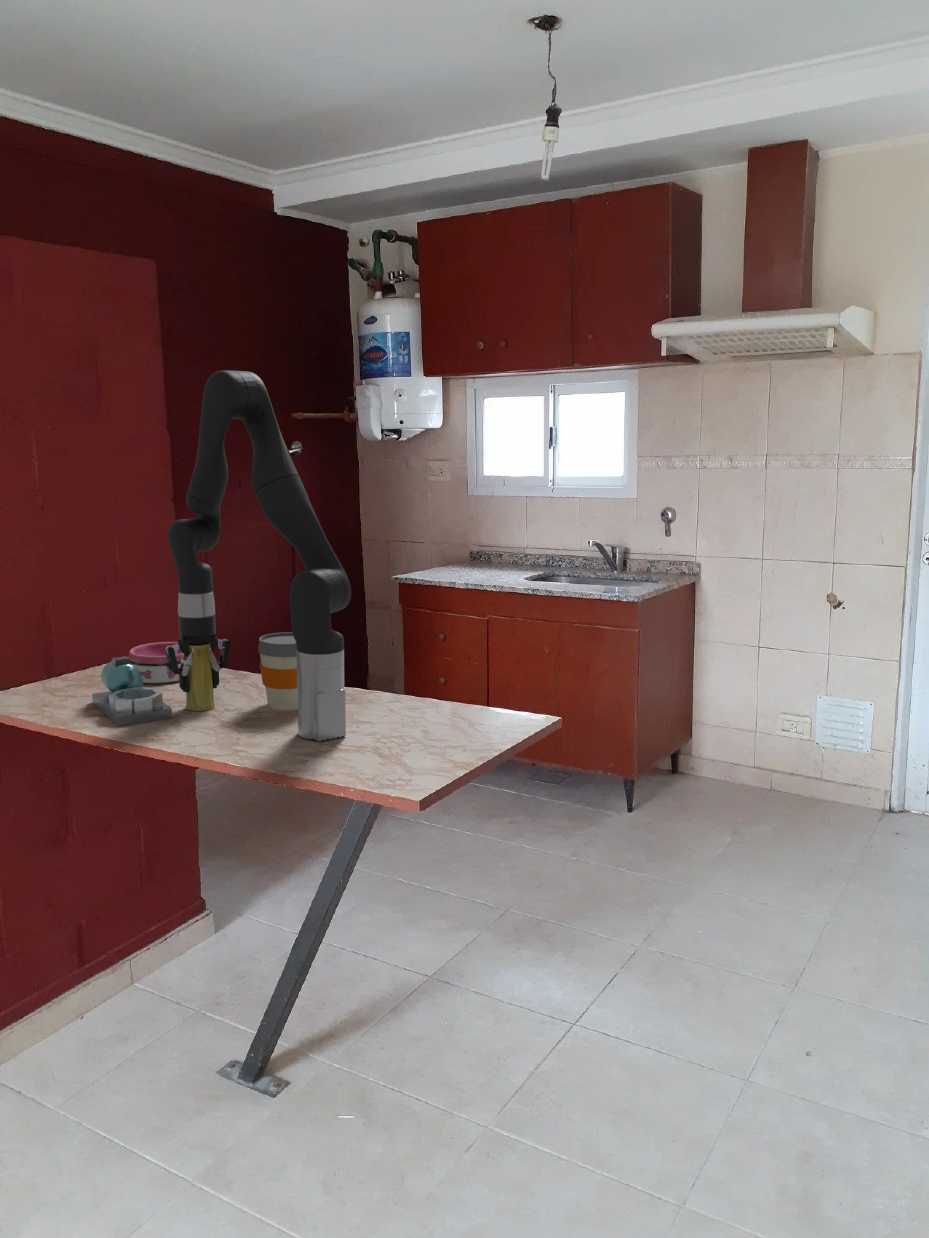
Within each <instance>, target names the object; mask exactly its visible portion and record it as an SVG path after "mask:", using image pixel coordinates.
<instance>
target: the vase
mask: <svg viewBox="0 0 929 1238" xmlns="http://www.w3.org/2000/svg"><path fill="white" fill-rule="evenodd" d="M209 645H210V643H209V644H206V645H200V646H191V645H189V651H191V650H192V648H194V653H192V656H191V657H192V665H191V666H190V668H189V671H188V673H187V675H188V682H189V692H186V697H185V698H186V699H185V700H186V702H185V704H186V705H185V709H186V710H187V711H190V712H204V711H208V710H212V709H214V708H215V706H216V705H215V700H214V689H213V679H212V665H211V657H210V651H209V650H208V649H209ZM187 658H188V657H186V660H187Z"/></svg>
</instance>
